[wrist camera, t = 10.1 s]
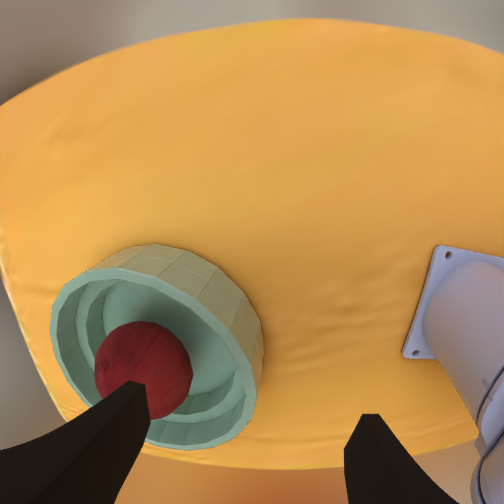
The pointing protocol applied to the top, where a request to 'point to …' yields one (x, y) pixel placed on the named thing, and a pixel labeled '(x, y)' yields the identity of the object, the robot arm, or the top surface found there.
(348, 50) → the top surface
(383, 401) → the top surface
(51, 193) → the top surface
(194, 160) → the top surface
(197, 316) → the bowl
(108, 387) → the onion
